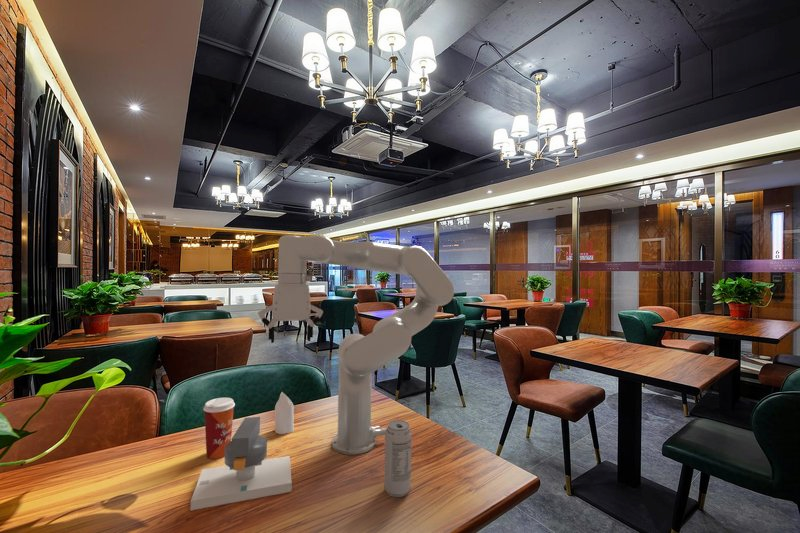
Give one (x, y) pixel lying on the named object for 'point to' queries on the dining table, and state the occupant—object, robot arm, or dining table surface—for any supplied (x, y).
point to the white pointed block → (284, 415)
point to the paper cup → (218, 426)
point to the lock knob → (246, 445)
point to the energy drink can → (397, 458)
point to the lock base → (242, 483)
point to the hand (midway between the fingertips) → (290, 341)
